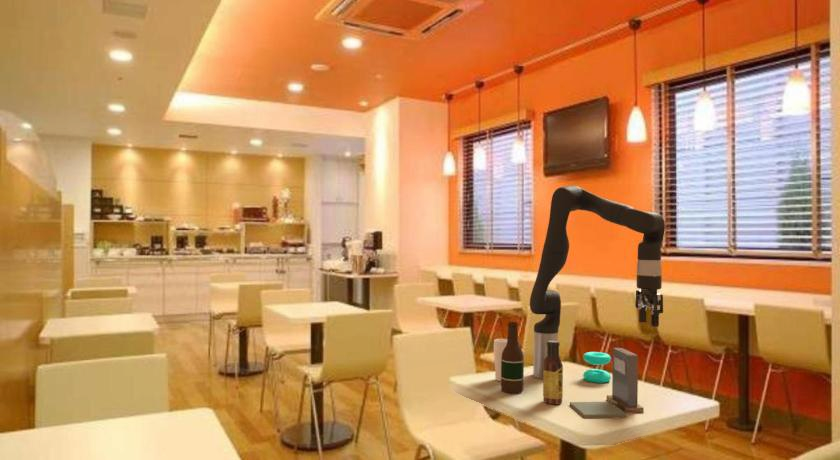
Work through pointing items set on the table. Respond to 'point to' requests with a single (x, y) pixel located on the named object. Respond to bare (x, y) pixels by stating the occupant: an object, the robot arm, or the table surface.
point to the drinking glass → (498, 356)
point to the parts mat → (597, 409)
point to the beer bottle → (512, 363)
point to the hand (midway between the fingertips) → (648, 324)
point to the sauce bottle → (553, 375)
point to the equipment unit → (625, 381)
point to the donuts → (597, 374)
